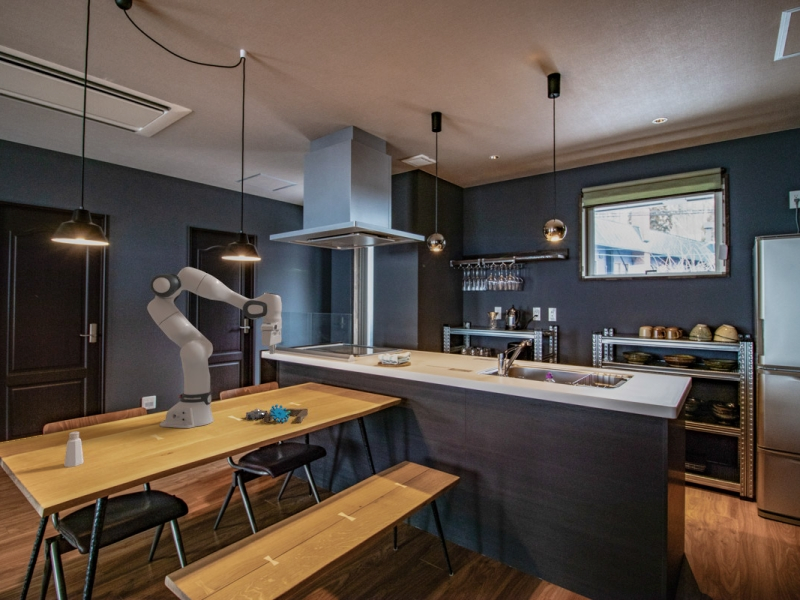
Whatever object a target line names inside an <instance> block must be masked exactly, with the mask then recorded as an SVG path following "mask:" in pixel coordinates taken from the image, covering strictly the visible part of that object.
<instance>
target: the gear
mask: <svg viewBox="0 0 800 600" xmlns="http://www.w3.org/2000/svg"><path fill="white" fill-rule="evenodd" d="M283 407H284V406H283V405H281V404H280V405H279V404H274V405H272V406H271V408H270V410H269V412H271V413H270V416H275V417H273V419H272V420H273V421H274V420H275V421H276V422H277V423H282V424H284V423H285V422H288V421H289V418H290V417H291V416H289V415H288V414H289V413H290V411H287V412H285V411H286V410H287V409H288V408H286V407H284V408H283ZM273 410H274V411H273ZM273 413H274V414H273Z"/></svg>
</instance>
